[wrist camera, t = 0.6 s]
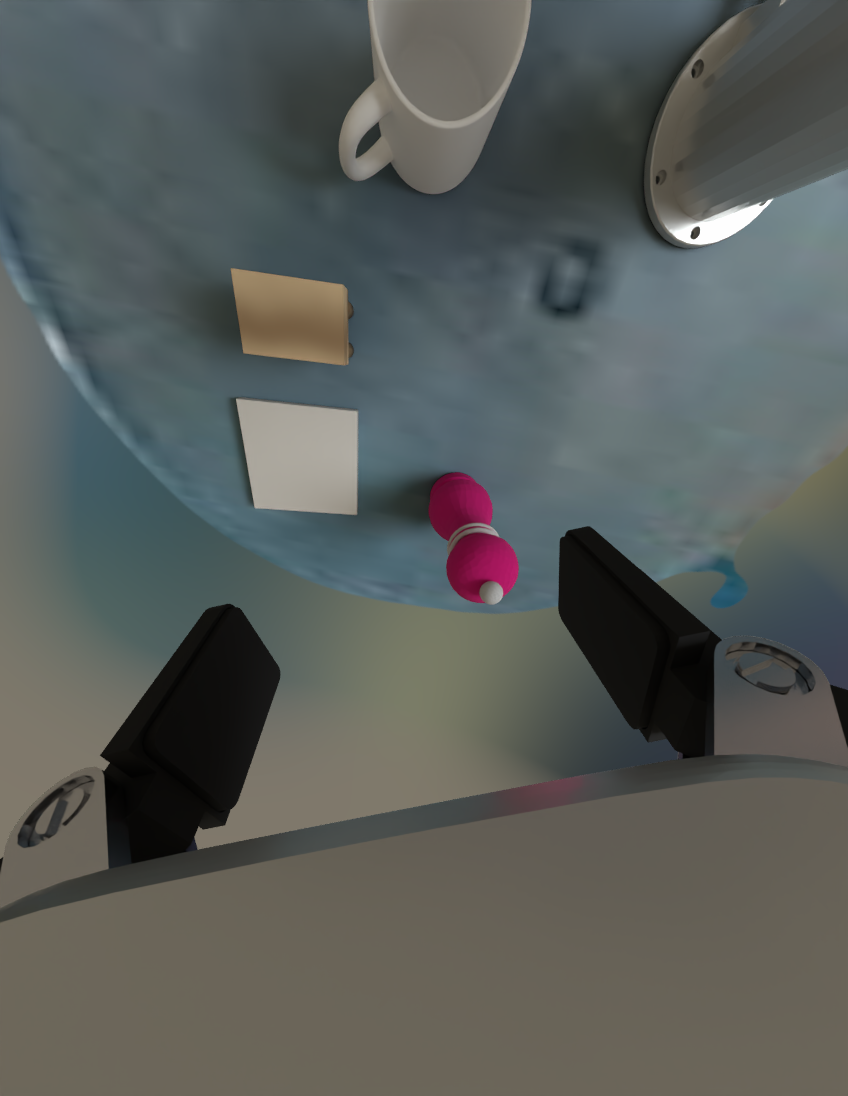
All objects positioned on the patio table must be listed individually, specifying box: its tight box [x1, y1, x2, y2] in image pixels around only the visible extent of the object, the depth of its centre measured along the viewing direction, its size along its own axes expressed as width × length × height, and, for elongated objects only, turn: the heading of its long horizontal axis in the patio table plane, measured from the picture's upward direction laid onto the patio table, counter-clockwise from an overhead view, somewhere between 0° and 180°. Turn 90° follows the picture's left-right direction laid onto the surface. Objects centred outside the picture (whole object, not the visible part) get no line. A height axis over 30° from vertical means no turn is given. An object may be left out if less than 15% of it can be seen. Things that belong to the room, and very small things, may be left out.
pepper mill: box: [429, 472, 519, 605], centre depth 33 cm, size 7×7×20 cm
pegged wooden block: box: [231, 268, 354, 365], centre depth 28 cm, size 5×8×8 cm, turn 84°
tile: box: [236, 397, 358, 515], centre depth 37 cm, size 12×12×1 cm
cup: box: [339, 0, 532, 194], centre depth 21 cm, size 8×12×10 cm
